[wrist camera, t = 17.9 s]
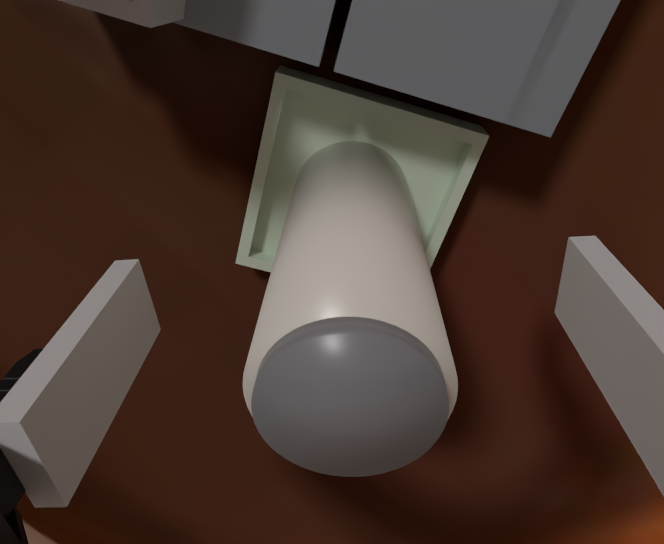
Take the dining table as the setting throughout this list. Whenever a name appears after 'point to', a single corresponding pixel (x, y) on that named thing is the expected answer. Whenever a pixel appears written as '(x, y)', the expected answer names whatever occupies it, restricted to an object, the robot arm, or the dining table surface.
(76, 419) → the robot arm
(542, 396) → the dining table surface
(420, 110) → the tray
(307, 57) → the housing
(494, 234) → the dining table surface
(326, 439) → the cylinder
